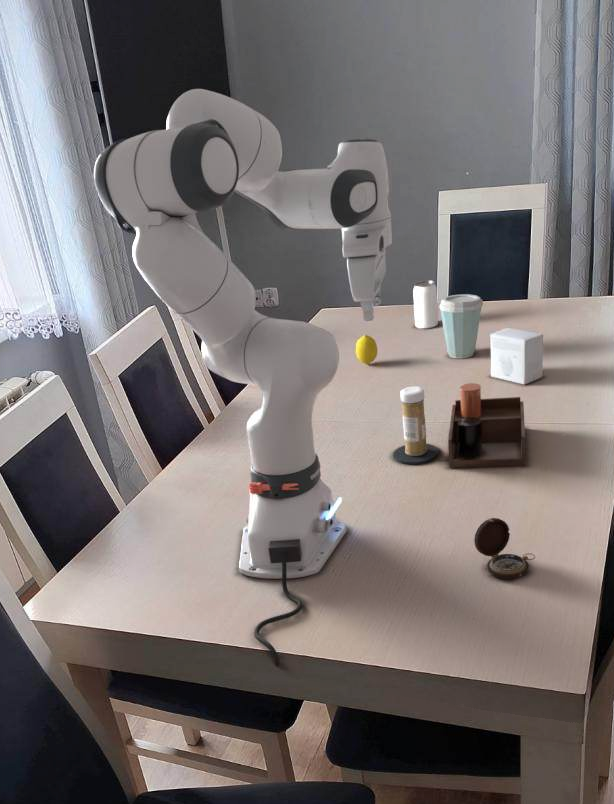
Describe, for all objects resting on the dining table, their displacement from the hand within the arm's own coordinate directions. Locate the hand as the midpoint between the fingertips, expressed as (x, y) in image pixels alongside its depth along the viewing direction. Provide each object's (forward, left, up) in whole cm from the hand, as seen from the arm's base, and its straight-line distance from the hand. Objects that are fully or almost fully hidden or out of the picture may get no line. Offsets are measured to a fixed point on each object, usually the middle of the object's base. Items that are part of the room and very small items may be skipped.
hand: (372, 312), depth 163 cm
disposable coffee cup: (+60, -13, -30) cm, 69 cm away
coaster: (+1, -6, -30) cm, 31 cm away
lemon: (+57, +11, -30) cm, 65 cm away
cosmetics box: (+42, -26, -30) cm, 58 cm away
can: (+87, -2, -30) cm, 92 cm away
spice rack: (+3, -20, -30) cm, 36 cm away
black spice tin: (+1, -17, -30) cm, 35 cm away
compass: (-41, -24, -30) cm, 56 cm away
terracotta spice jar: (+9, -17, -25) cm, 31 cm away
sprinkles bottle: (+1, -6, -30) cm, 30 cm away
